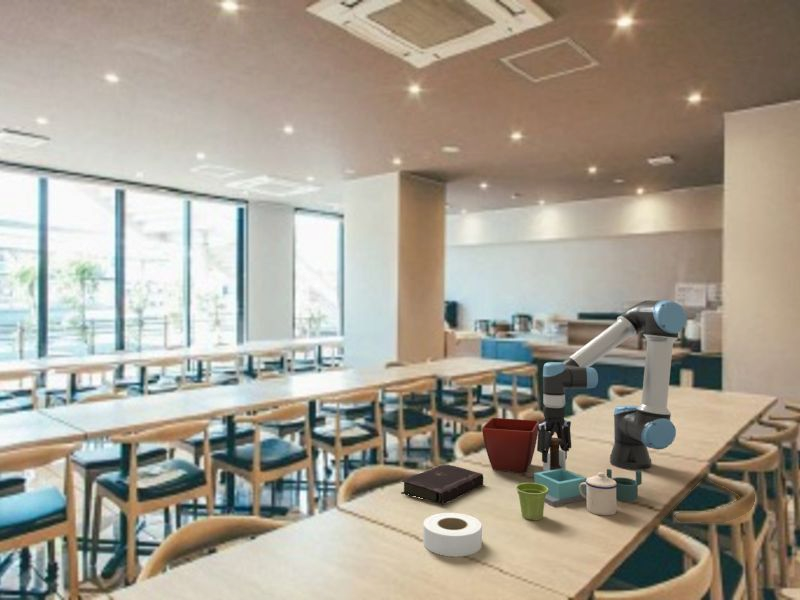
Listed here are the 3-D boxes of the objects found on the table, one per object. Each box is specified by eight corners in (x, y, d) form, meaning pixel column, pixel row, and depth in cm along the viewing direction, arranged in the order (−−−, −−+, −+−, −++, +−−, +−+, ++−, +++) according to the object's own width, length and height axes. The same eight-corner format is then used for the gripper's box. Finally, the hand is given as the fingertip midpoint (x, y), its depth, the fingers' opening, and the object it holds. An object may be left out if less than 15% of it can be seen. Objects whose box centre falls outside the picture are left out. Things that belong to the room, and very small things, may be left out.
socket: (567, 485, 192) (567, 466, 192) (595, 497, 181) (595, 477, 181) (526, 493, 185) (526, 474, 185) (552, 506, 173) (552, 485, 173)
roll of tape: (444, 526, 159) (444, 507, 159) (492, 541, 149) (492, 521, 149) (411, 545, 146) (411, 525, 146) (461, 563, 136) (461, 541, 136)
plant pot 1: (481, 471, 208) (481, 427, 208) (492, 458, 226) (492, 417, 226) (532, 477, 201) (532, 431, 201) (539, 463, 218) (539, 420, 218)
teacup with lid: (622, 511, 169) (622, 473, 169) (607, 518, 163) (607, 479, 163) (587, 500, 178) (587, 464, 178) (571, 507, 172) (571, 470, 172)
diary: (484, 487, 193) (484, 473, 193) (443, 508, 174) (443, 492, 174) (441, 475, 205) (441, 462, 205) (398, 494, 186) (398, 479, 186)
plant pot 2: (530, 525, 159) (530, 495, 159) (509, 514, 167) (509, 485, 167) (554, 519, 163) (554, 490, 163) (533, 508, 171) (533, 480, 171)
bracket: (644, 498, 180) (643, 470, 180) (625, 503, 175) (625, 475, 175) (620, 490, 187) (620, 464, 187) (602, 495, 183) (602, 468, 183)
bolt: (544, 478, 200) (544, 437, 199) (558, 478, 200) (558, 436, 200) (550, 483, 194) (550, 441, 194) (564, 483, 194) (564, 441, 194)
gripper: (567, 401, 204) (567, 463, 204) (525, 406, 196) (526, 470, 196) (582, 405, 198) (582, 469, 198) (539, 410, 189) (540, 476, 189)
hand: (554, 469), depth 197 cm, fingers open, 6 cm apart
